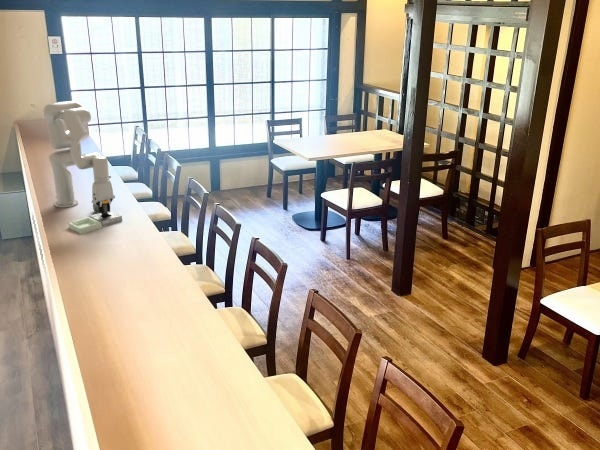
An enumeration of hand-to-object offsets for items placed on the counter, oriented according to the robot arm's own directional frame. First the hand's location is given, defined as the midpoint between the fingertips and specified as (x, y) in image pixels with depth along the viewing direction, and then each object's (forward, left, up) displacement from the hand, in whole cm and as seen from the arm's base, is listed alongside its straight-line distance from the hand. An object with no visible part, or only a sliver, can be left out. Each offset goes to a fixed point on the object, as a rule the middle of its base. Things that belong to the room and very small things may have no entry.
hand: (104, 211), depth 303 cm
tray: (+2, -13, -5) cm, 14 cm away
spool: (-13, +6, -6) cm, 16 cm away
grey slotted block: (+1, 0, -5) cm, 5 cm away
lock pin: (0, 0, -3) cm, 3 cm away
